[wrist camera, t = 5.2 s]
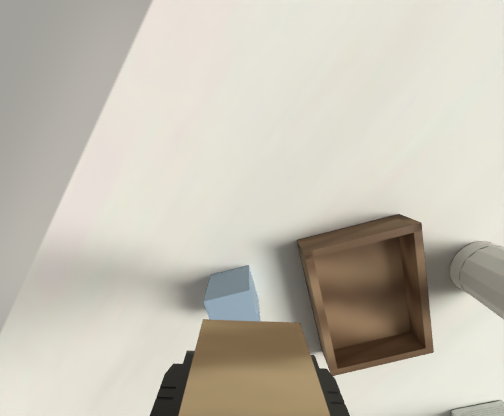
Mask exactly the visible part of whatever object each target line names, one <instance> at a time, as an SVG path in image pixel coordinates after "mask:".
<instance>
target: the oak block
mask: <svg viewBox="0 0 504 416" xmlns="http://www.w3.org/2000/svg"><path fill="white" fill-rule="evenodd" d="M179 416H330V413H329V410H328V407H327V404H326V401H325V398H324V395H323V392H322V389H321V386H320V383H319V380H318V376H317V373H316V370H315V367H314V364H313V361H312V358H311V355H310V352H309V349H308V346H307V343H306V340H305V337H304V334H303V330H302V327H301V324H300V323H289V322H262V321H235V320H208V319H203V321H202V325H201V329H200V333H199V337H198V341H197V345H196V349H195V353H194V357H193V361H192V365H191V368H190V372H189V376H188V380H187V384H186V388H185V392H184V396H183V400H182V404H181V408H180V412H179Z"/></svg>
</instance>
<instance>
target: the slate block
mask: <svg viewBox="0 0 504 416" xmlns="http://www.w3.org/2000/svg"><path fill="white" fill-rule="evenodd" d="M203 302H204V305H205V308H206V311H207V314H208V316H209V319H210V320H235V321H260V311H259V300H258V296H257V292H256V289H255V285H254V282H253V278H252V275H251V272H250V268H249V265H248V266H244V267H240V268H236V269H232V270H228V271H225V272H221V273H217V274H213V275H211V276H210V280H209V283H208V287H207V290H206V294H205V297H204V301H203Z"/></svg>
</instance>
